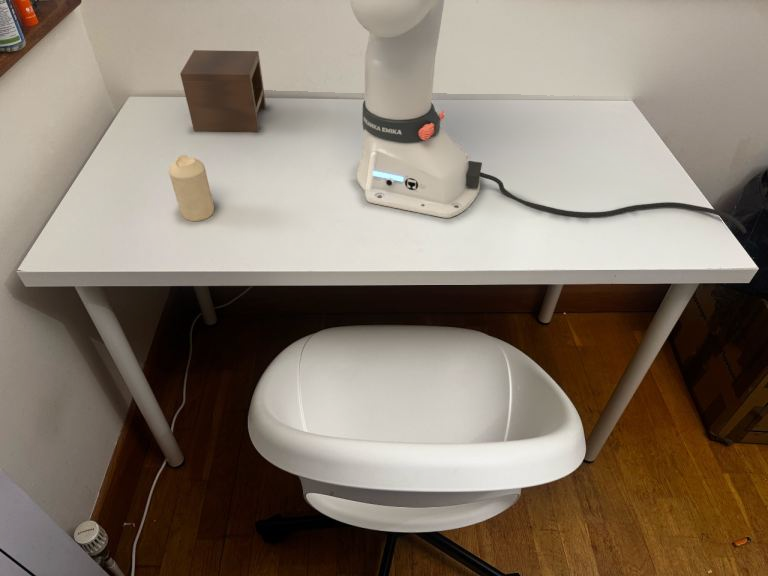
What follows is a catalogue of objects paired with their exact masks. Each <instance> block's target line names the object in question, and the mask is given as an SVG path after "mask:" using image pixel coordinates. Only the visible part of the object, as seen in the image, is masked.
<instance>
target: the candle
mask: <svg viewBox="0 0 768 576" xmlns="http://www.w3.org/2000/svg"><path fill="white" fill-rule="evenodd" d="M167 170H168V171H167V172H168V174H169V178H170V183H171V186H172V189H173V192H174V195H175V199H176V202H177V205H178V209H179V212H180V214H181V217H182V218H183V219H184V220H187V221H190V222H200V221H203V220H206V219H209V218H210V217H211V216H212V215H213V214H214V212H215V205H214V200H213V196H212V192H211V188H210V187H211V186H210V183H209V180H208V175H207V172H206V171H207V170H206V166H205V164H204V162H203V161H202V160H200V159H198V158H195V157H191V156H188V155H186V154H183V155H180V156H178V157H177V159H176V160H175V161H173V162H172V163H171V165H169V167H168V169H167Z"/></svg>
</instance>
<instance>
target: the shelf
mask: <svg viewBox="0 0 768 576" xmlns="http://www.w3.org/2000/svg"><path fill="white" fill-rule="evenodd" d="M179 75H180V79H181V84H182V87H183V91H184V95H185V100H186V104H187V107H188V108H187V109H188V112H189V116H190V120H191V124H192V128H193V132H210V133H211V132H212V133H213V132H217V133H219V132H220V133H221V132H223V133H259V131H260V125H259V120H258V112H259V110H266V109H267V101H266V96H265V89H264V82H263V75H262V66H261V60H260V52H259V50H208V49H206V50H203V49H194V50H193V51H192V53H191V54H190V56H189V58H188V59H187V61H186V62H185V65H184V66H183V68H182V69H181V71H180V73H179Z"/></svg>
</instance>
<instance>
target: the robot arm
mask: <svg viewBox="0 0 768 576" xmlns="http://www.w3.org/2000/svg"><path fill="white" fill-rule="evenodd" d="M349 1H350V5H351V6H350V7H351V9H352V13H353V14H354V16H355V18H356V20H357V22H358V23H359V24H360V25H361V27H363V29H365V30H366V31H367V32H369V34H368V38H367V39H368V40H367V43H366V49H365V53H364V100H363V101H362V111H361V112H362V113H361V114H362V115H361V117H362V121H361V122H362V128H363V132H364V134H363V144H362V150H361V157H360V161H359V165H358V168H357V171H356V181H357V183H358V185H359V186H360V187H361V189H362V190H363V191H364V196H365V200H366V201H367V202H368V203H370V204H375V205H379V206H380V205H381V206H384V207H389V208H394V209H398V210H405V211H409V212H412V213H413V212H414V213H419V214H424V215H428V216H433V217H438V218H443V219H444V218H445V219H450V218H453V217H455V216H458V215H460V214H461V213H463V212H464V211H466V210H468V208H469V207H470V206H471V205H472V204H473V203H474V201H475V199H476V198H477V197H478V195H479V192H480V190H481V189H480V188H481V180H480V179H481V178H483V179H487V180H489V181H492V182H494V183H496V184H497V185H498V188H499V190H500V192H501V193H502V194H503V195H505V196H506V197H508V198H509V199H511V200H514V201H516V202H518V203H520V204H522V205H524V206H526V207H529V208H532V209H536V210H541V211H545V212H549V213H553V214H557V215H562V216H569V217H570V216H571V217H581V218H582V217H584V218H585V217H586V218H588V217H589V218H591V217H592V218H596V217H597V218H598V217H607V216H608V217H609V216H613V215H618V214H622V213H626V212H630V211H635V210H644V209H655V208H666V207H667V208H680V209H686V210H692V211H697V212H703V213H707V214H712V215H715V216H719V217H721V218H723V219H726V220H727V221H729V222H731V223H732V224H733V225H734V226H736V227H737V228H738V230H739V231H740V232H741V233H743V234H747V233H748V232H747V229H746V227H745V226H744V225H743V224H742V222H741V221H739V220H738V219H737V218H736V217H734V216H732V215H730V214H729V213H726V212H724V211H721V210H718V209H715V208H711V207H706V206H701V205H694V204H690V203H683V202H671V201H670V202H669V201H668V202H667V201H666V202H665V201H664V202H653V203H643V204H642V203H641V204H634V205H628V206H625V207H621V208H620V207H619V208H615V209H612V210H606V211H573V210H565V209H560V208H557V207H553V206H552V207H551V206H548V205H543V204H539V203H534V202H531V201H527V200H524V199H522V198H519V197H517V196H515V195H514V194H512V193H511V192H510V191H508V190H507V189H506V188H505V185H504V183H503V181H502V180H501V179H500V178H498V177H496V176H494V175H491V174H488V173H485V172H482V168H483V167H482V166H483V162H481V161H480V162H479V161H474V160H473V161H472V160H469V158H468V154H467V152H466V151H465V149H463V148H462V146H460V145H459V144H458V143H457V142H456V141H455V140H454V139H453V138H451V136H450V135H448V133H447V132H445V130H443V129H442V127H441V122H442V120H444V118H445V113H446V111H445V110H442V111H441V112H440V113H439V114H438V112H437V111H436V109H435V106H434V103H433V89H434V78H435V67H436V65H435V64H436V57H437V49H438V45H439V44H438V43H439V38H440V37H439V36H440V31H441V25H442V19H443V12H444V5H445V0H349Z"/></svg>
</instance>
